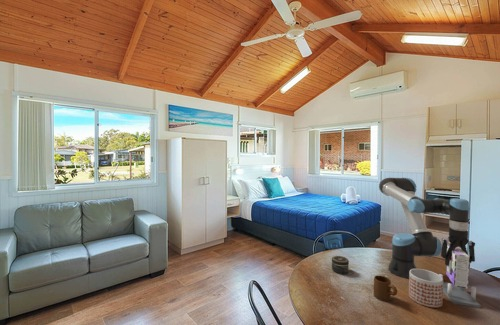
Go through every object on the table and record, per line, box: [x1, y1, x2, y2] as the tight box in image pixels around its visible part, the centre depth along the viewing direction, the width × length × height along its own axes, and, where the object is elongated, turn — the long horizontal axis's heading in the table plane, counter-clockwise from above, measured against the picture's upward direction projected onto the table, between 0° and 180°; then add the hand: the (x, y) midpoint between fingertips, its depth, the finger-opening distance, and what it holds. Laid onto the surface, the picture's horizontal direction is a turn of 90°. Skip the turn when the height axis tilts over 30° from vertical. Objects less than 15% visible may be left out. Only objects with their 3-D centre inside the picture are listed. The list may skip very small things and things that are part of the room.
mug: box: [373, 275, 398, 302], centre depth 121 cm, size 12×8×9 cm, turn 20°
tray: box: [438, 273, 482, 309], centre depth 127 cm, size 12×20×7 cm, turn 163°
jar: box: [331, 255, 350, 275], centre depth 151 cm, size 10×10×8 cm
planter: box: [408, 268, 444, 309], centre depth 122 cm, size 14×14×13 cm
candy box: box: [445, 244, 470, 290], centre depth 126 cm, size 14×6×16 cm, turn 154°
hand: (456, 272), depth 126 cm, fingers closed on candy box, 6 cm apart
